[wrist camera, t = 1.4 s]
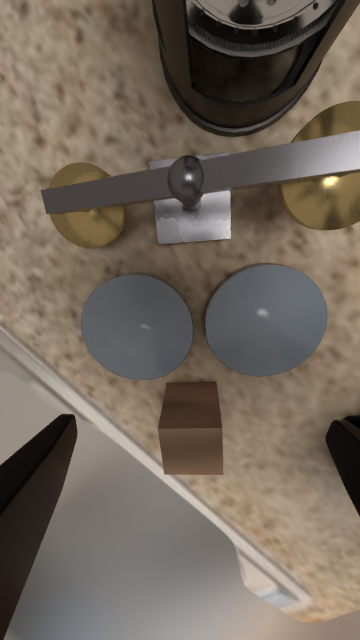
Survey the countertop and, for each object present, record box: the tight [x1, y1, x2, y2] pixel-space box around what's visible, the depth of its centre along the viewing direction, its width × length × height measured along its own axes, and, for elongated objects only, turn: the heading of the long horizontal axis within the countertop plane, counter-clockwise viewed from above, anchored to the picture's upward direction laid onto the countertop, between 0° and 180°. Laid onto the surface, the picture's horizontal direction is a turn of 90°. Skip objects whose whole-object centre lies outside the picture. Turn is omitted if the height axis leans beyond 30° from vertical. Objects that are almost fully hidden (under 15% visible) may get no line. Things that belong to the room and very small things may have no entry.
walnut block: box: [158, 382, 223, 475], centre depth 20 cm, size 4×4×6 cm
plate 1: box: [81, 273, 193, 380], centre depth 20 cm, size 9×9×1 cm
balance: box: [41, 101, 360, 248], centre depth 12 cm, size 17×5×10 cm, turn 95°
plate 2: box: [205, 264, 327, 376], centre depth 19 cm, size 9×9×1 cm
